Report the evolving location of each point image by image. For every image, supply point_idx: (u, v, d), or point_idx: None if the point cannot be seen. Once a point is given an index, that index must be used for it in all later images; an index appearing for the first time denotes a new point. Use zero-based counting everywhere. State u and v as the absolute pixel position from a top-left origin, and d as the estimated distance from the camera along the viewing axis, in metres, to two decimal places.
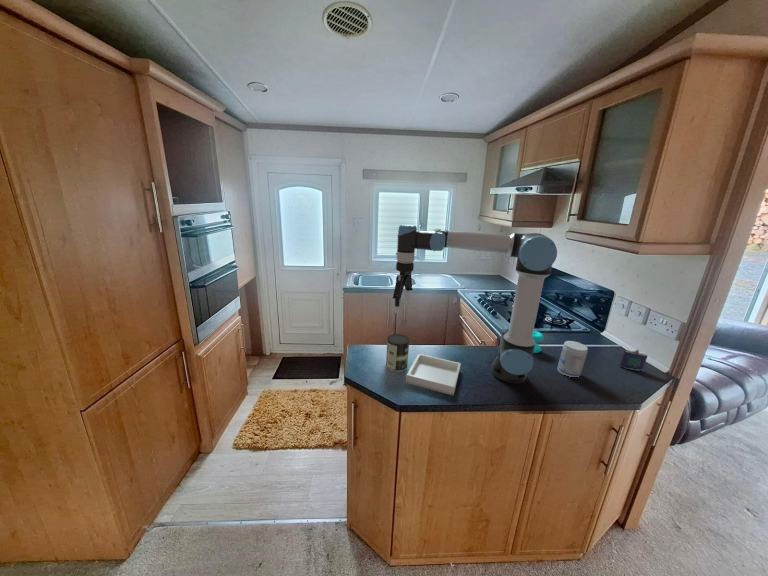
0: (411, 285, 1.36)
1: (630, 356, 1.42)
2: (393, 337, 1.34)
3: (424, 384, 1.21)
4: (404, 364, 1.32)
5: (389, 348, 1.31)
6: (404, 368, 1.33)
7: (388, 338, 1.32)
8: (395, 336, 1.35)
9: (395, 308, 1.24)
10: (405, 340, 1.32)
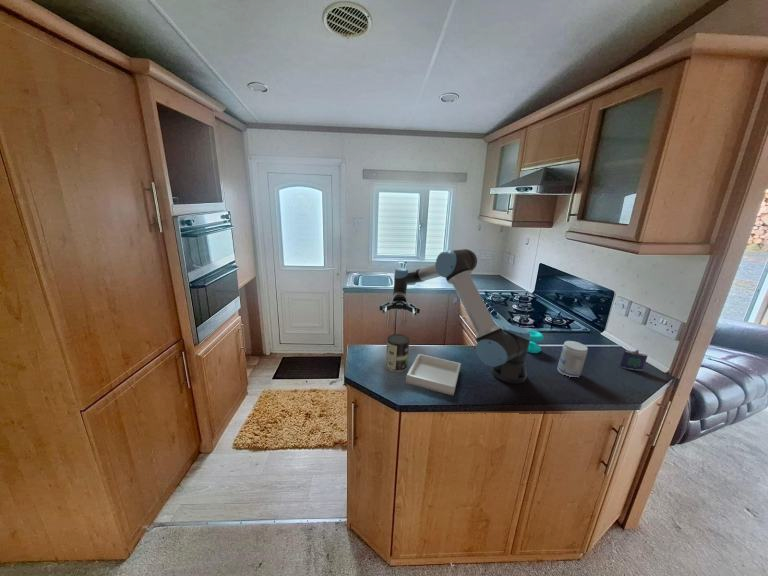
0: (417, 307, 1.47)
1: (630, 356, 1.42)
2: (393, 337, 1.34)
3: (424, 384, 1.21)
4: (404, 364, 1.32)
5: (389, 348, 1.31)
6: (404, 368, 1.33)
7: (388, 338, 1.32)
8: (395, 336, 1.35)
9: None
10: (405, 340, 1.32)
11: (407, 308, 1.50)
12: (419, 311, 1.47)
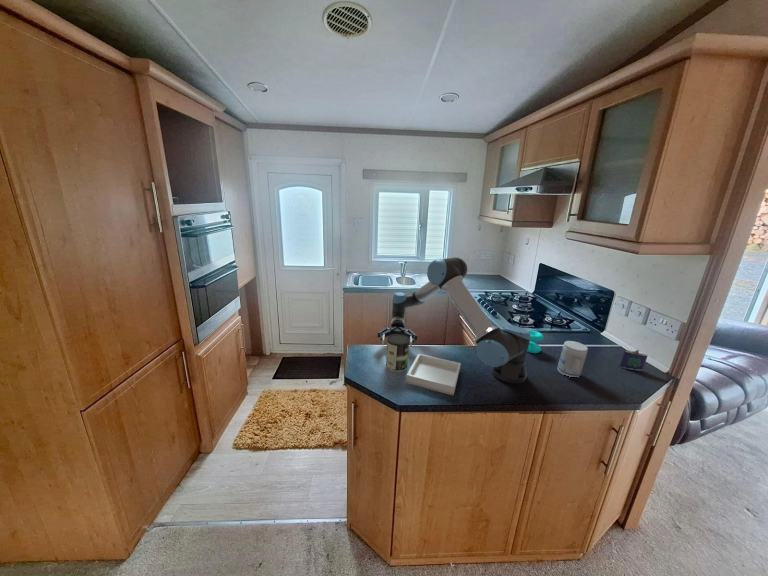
0: (414, 334, 1.49)
1: (630, 356, 1.42)
2: (393, 337, 1.34)
3: (424, 384, 1.21)
4: (404, 364, 1.32)
5: (389, 348, 1.30)
6: (404, 368, 1.33)
7: (388, 338, 1.32)
8: (395, 336, 1.35)
9: None
10: (405, 340, 1.32)
11: (405, 335, 1.51)
12: None
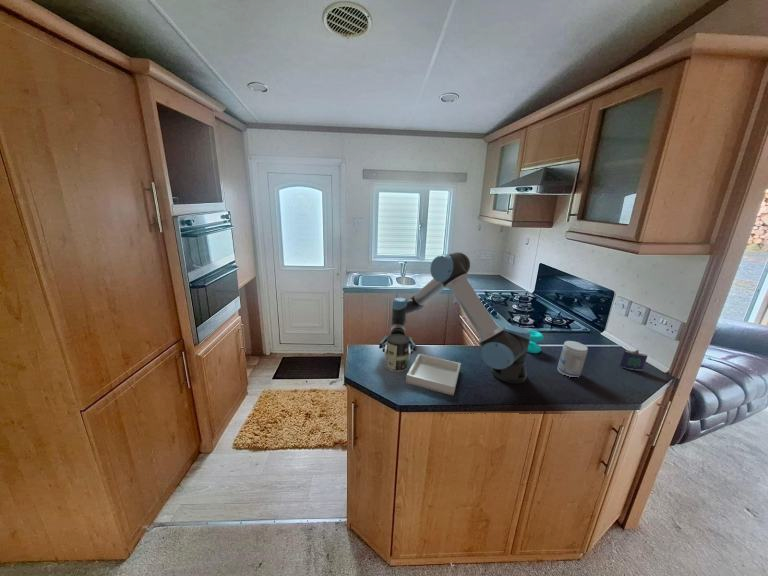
0: (413, 344, 1.38)
1: (630, 356, 1.42)
2: (393, 337, 1.34)
3: (424, 384, 1.21)
4: (404, 364, 1.32)
5: (389, 348, 1.30)
6: (404, 368, 1.33)
7: (388, 338, 1.32)
8: (395, 336, 1.35)
9: None
10: (405, 340, 1.32)
11: None
12: (415, 349, 1.37)
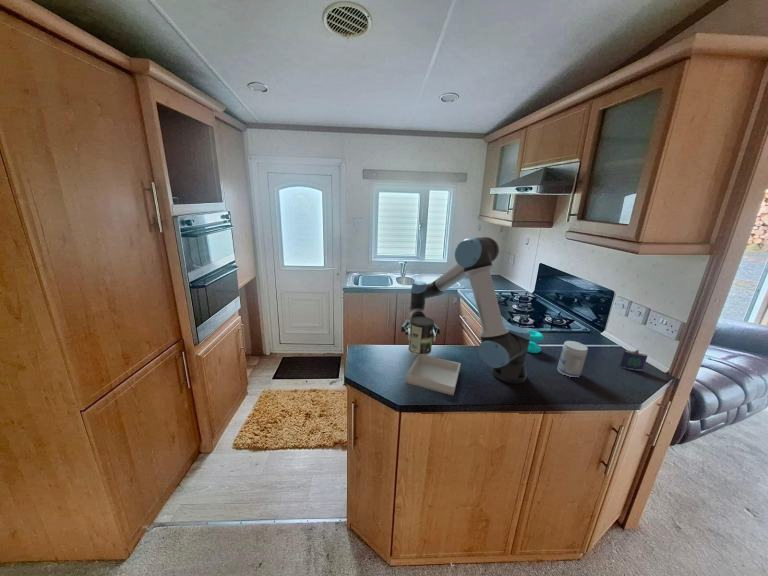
0: (437, 327, 1.32)
1: (630, 356, 1.42)
2: (417, 319, 1.28)
3: (424, 384, 1.21)
4: (429, 347, 1.26)
5: (413, 330, 1.24)
6: (428, 351, 1.26)
7: (411, 320, 1.26)
8: (418, 318, 1.29)
9: (408, 336, 1.26)
10: (429, 322, 1.25)
11: None
12: (439, 332, 1.31)
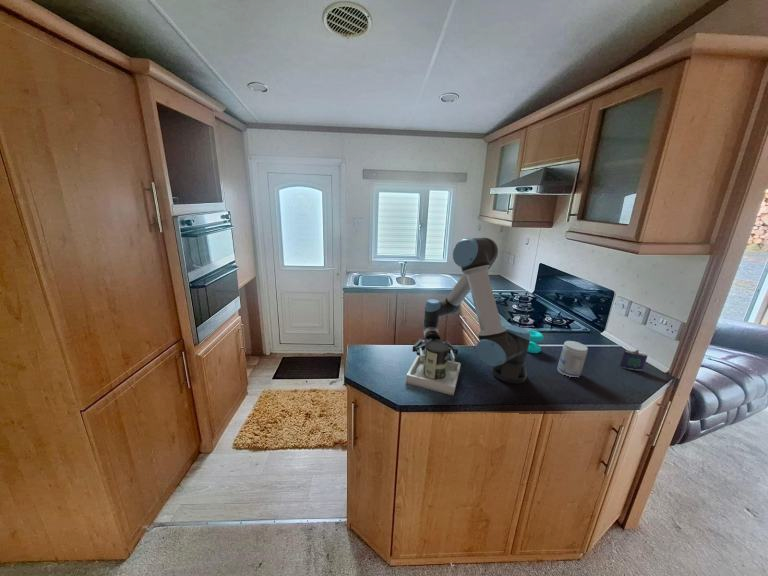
0: (455, 348, 1.31)
1: (630, 356, 1.42)
2: (432, 344, 1.27)
3: (424, 384, 1.21)
4: (444, 373, 1.25)
5: (428, 356, 1.23)
6: (443, 377, 1.26)
7: (426, 345, 1.25)
8: (433, 343, 1.28)
9: None
10: (444, 347, 1.25)
11: None
12: (457, 352, 1.30)
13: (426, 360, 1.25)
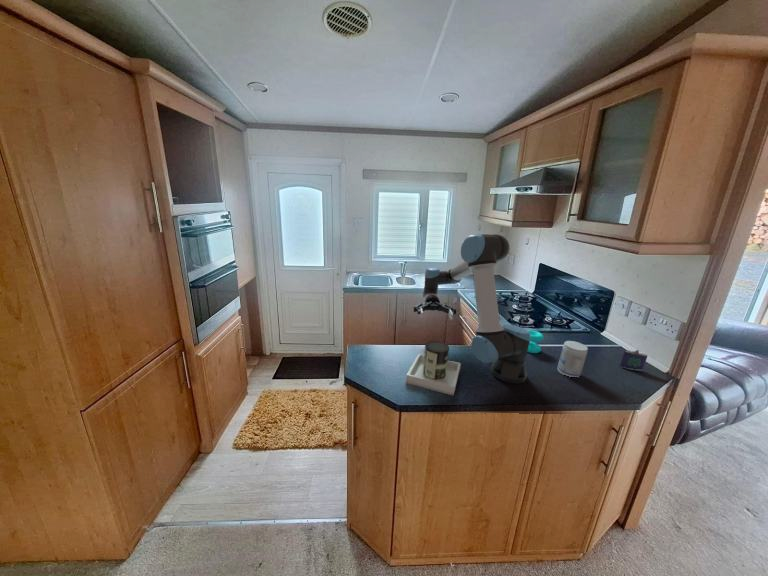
0: (453, 308, 1.40)
1: (630, 356, 1.42)
2: (432, 344, 1.27)
3: (424, 384, 1.21)
4: (444, 373, 1.25)
5: (428, 356, 1.23)
6: (443, 377, 1.26)
7: (426, 345, 1.25)
8: (433, 343, 1.28)
9: (420, 315, 1.35)
10: (445, 347, 1.24)
11: (442, 309, 1.42)
12: None
13: (426, 360, 1.25)
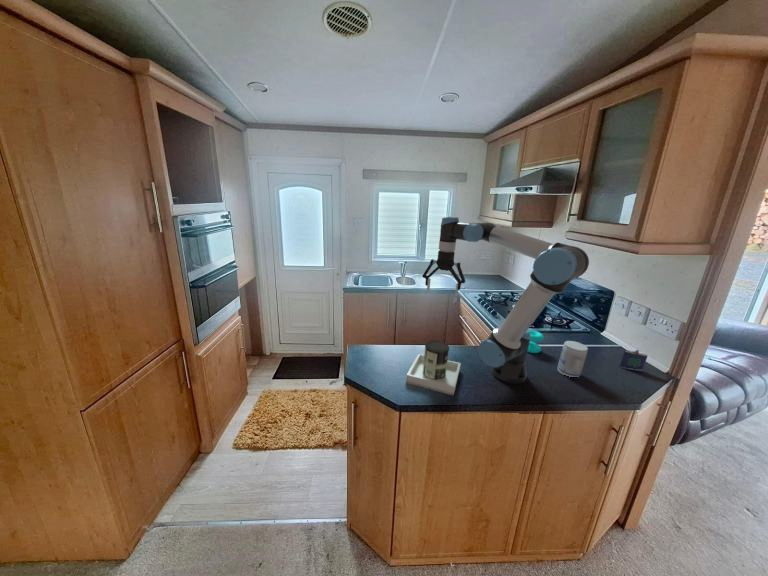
0: (462, 280, 1.35)
1: (630, 356, 1.42)
2: (431, 344, 1.27)
3: (424, 384, 1.21)
4: (444, 373, 1.25)
5: (428, 356, 1.23)
6: (443, 377, 1.26)
7: (426, 345, 1.25)
8: (433, 343, 1.28)
9: None
10: (444, 347, 1.24)
11: None
12: (464, 281, 1.37)
13: (426, 360, 1.25)
